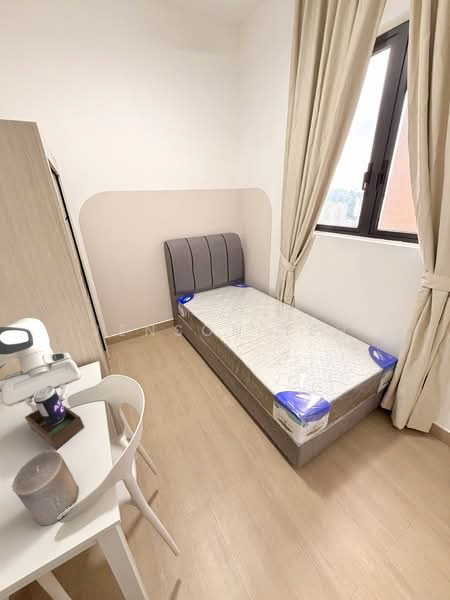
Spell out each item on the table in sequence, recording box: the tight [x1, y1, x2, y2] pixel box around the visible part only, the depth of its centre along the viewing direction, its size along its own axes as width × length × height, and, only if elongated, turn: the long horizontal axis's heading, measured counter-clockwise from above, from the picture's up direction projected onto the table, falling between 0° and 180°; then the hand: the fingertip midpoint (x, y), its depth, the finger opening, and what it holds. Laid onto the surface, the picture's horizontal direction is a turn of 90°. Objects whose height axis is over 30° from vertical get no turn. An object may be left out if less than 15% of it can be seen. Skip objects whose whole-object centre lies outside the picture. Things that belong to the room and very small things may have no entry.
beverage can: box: [33, 386, 66, 425], centre depth 75 cm, size 6×6×12 cm
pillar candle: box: [11, 450, 80, 527], centre depth 58 cm, size 10×10×15 cm
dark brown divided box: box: [24, 405, 85, 451], centre depth 81 cm, size 17×9×5 cm, turn 60°
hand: (49, 405), depth 74 cm, fingers closed on beverage can, 5 cm apart
